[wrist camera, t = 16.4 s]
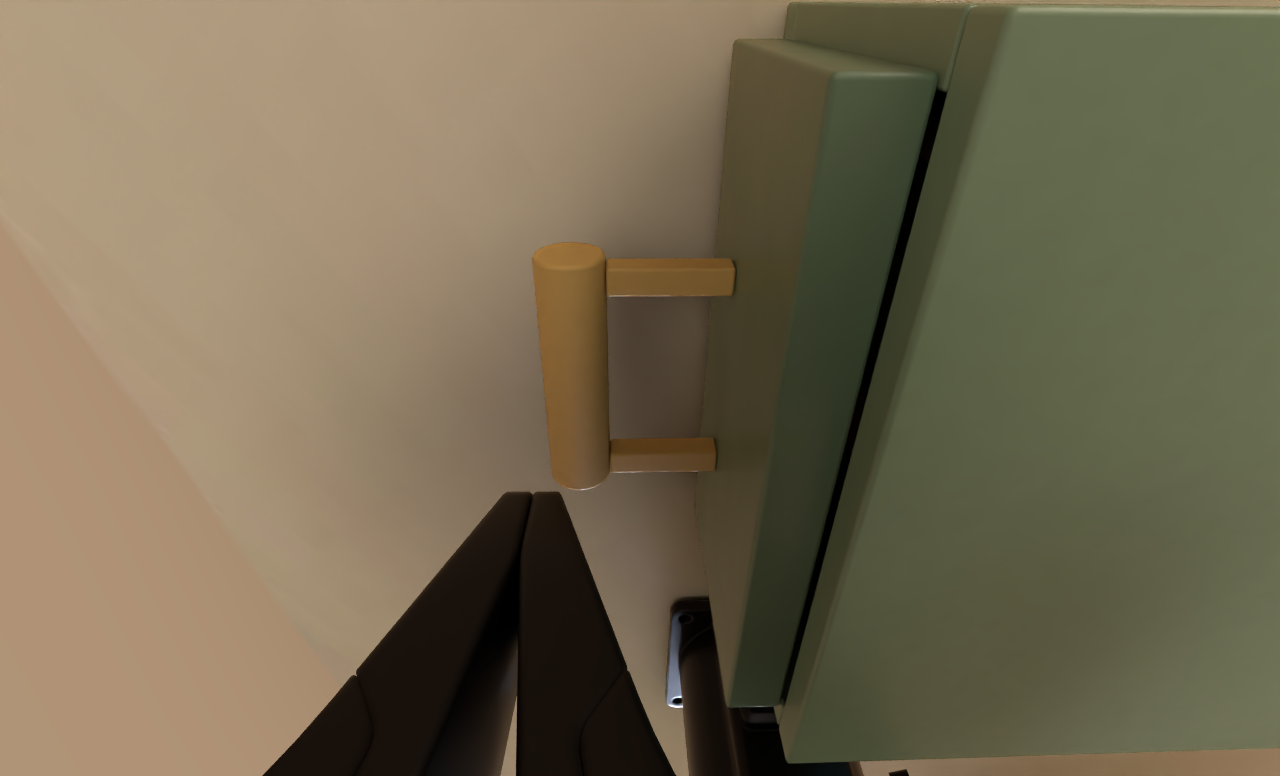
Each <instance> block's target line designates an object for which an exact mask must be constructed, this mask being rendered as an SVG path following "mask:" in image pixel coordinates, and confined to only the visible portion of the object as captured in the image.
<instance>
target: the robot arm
mask: <svg viewBox="0 0 1280 776" xmlns="http://www.w3.org/2000/svg"><path fill="white" fill-rule="evenodd" d="M356 675H357V676H355V675H353V676H351V677H350V678H349V679H348V681H347V682H346V683H345V684H344V686H343V687H342V688H341V689H340V690H339V692H338V693H337V694H336V695H335V697H334V698H333V699H332V700H331V701H330V702H329V703H328V705H327V706H326V707H325V708H324V709H323V710H322V711H321V713H320V714H319V715H318V716H317V717H316V718H315V720H314V721H313V722H312V723H311V724H310V725H309V726H308V727H307V729H306V730H305V731H304V732H303V733H302V734H301V735H300V737H299V738H298V739H297V740H296V741H295V742H294V743H293V744H292V745H291V746H290V747H289V748H288V749H287V750H286V752H285V753H284V754H283V755H282V756H281V757H280V758H279V759H278V760H277V761H276V762H275V763H274V764H273V765H272V766H271V767H270V768H269V769H268V770H267V771H266V772H265V774H264V775H263V776H500V774H501V769H502V765H503V760H504V755H505V750H506V745H507V740H508V735H509V731H510V726H511V721H512V716H513V711H514V706H515V701H516V697H517V746H516V776H676V775H675V773H674V771H673V769H672V767H671V765H670V763H669V761H668V759H667V757H666V755H665V753H664V751H663V749H662V747H661V745H660V743H659V741H658V739H657V737H656V735H655V733H654V731H653V729H652V726H651V724H650V721H649V719H648V717H647V714H646V712H645V710H644V707H643V705H642V703H641V700H640V698H639V695H638V693H637V690H636V688H635V685H634V682H633V680H632V677H631V675H630V672H629V671H627V665H626V662H625V660H624V657H623V655H622V652H621V649H620V647H619V644H618V641H617V639H616V636H615V634H614V631H613V628H612V626H611V623H610V621H609V618H608V615H607V613H606V610H605V608H604V605H603V602H602V600H601V597H600V594H599V592H598V589H597V587H596V584H595V581H594V579H593V576H592V574H591V571H590V568H589V566H588V563H587V560H586V558H585V555H584V553H583V550H582V547H581V545H580V542H579V540H578V537H577V534H576V532H575V529H574V527H573V524H572V521H571V519H570V516H569V513H568V511H567V508H566V506H565V503H564V500H563V498H562V495H561V494H560V493H559V492H535V493H534V495H532V493H530V492H506V493H505V494H503V495H502V497H501V498H500V499H499V500H498V501H497V503H496V504H495V505H494V506H493V507H492V509H491V510H490V511H489V512H488V513H487V515H486V516H485V517H484V518H483V519H482V521H481V522H480V523H479V524H478V525H477V527H476V528H475V529H474V530H473V531H472V533H471V534H470V535H469V536H468V537H467V539H466V540H465V541H464V542H463V543H462V545H461V546H460V547H459V548H458V549H457V550H456V552H455V553H454V554H453V555H452V556H451V558H450V559H449V560H448V561H447V562H446V564H445V565H444V566H443V567H442V568H441V570H440V571H439V572H438V573H437V574H436V576H435V577H434V578H433V579H432V580H431V582H430V583H429V584H428V585H427V586H426V588H425V589H424V590H423V591H422V592H421V594H420V595H419V596H418V597H417V598H416V600H415V601H414V602H413V603H412V604H411V606H410V607H409V608H408V609H407V610H406V612H405V613H404V614H403V615H402V616H401V618H400V619H399V620H398V621H397V622H396V624H395V625H394V626H393V627H392V628H391V630H390V631H389V632H388V633H387V634H386V636H385V637H384V638H383V639H382V640H381V642H380V643H379V644H378V645H377V646H376V648H375V649H374V650H373V651H372V652H371V654H370V655H369V656H368V657H367V658H366V660H365V661H364V662H363V663H362V664H361V666H360V667H359V668H358V669H357V671H356ZM665 693H666V703H667V704H668V705H669V706H672V707H683V716H684V727H685V737H686V748H687V758H688V769H689V776H864V774H863V771H862V768H861V765H860V762H859V761H852V762H820V763H788V762H787V760H786V758H785V754H784V749H783V745H782V740H781V736H780V731H779V727H780V725H778V723H777V719H776V715H775V710H774V706H768V707H733V708H730V707H727V705H726V702H725V696H724V689H723V683H722V677H721V670H720V664H719V657H718V651H717V645H716V638H715V632H714V625H713V619H712V612H711V606H710V601H682V602H678V603H675V604H674V605H673V606H672V607H671V610H670V624H669V641H668V658H667V674H666V691H665ZM889 775H890V776H909V774H908V772H907V769H904V770H900V771H895V772H890V773H889Z"/></svg>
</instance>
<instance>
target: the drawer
mask: <svg viewBox="0 0 1280 776" xmlns="http://www.w3.org/2000/svg"><path fill="white" fill-rule="evenodd" d="M937 83H938V75H937V73H935V72H934V71H932V70H928V69H923V68H919V67H914V66H910V65H905V64H901V63H896V62H891V61H887V60H882V59H878V58H873V57H869V56H864V55H860V54H855V53H851V52H846V51H841V50H837V49H832V48H828V47H823V46H819V45H814V44H810V43H805V42H801V41H796V40H792V39H737V40H735V41H734V44H733V52H732V64H731V76H730V88H729V100H728V112H727V124H726V136H725V148H724V160H723V172H722V184H721V196H720V208H719V220H718V232H717V244H716V256H715V258H687V259H608V260H607V261H606V256H605V254H604V252H603V251H602V250H601V249H600V248H598V247H596V246H593V245H590V244H585V243H577V242H565V243H557V244H552V245H548V246H545V247H542V248H540V249H538V250H537V251H536V252H535V253H534V255H533V258H532V263H533V274H534V285H535V296H536V306H537V317H538V328H539V338H540V349H541V360H542V370H543V381H544V392H545V402H546V413H547V424H548V435H549V445H550V456H551V467H552V475H553V477H554V479H555V480H556V481H557V483H558V484H560V485H561V486H563V487H565V488H567V489H571V490H588V489H592V488H595V487H597V486H599V485H600V484H602V483H603V482H604V481H605V480H606V479H607V477H608V475H609V473H610V470H611V472H613V473H617V472H685V471H698V472H697V484H696V496H695V510H696V516H697V523H698V529H699V536H700V542H701V548H702V555H703V561H704V568H705V574H706V580H707V587H708V593H709V600H710V606H711V612H712V619H713V625H714V632H715V638H716V645H717V651H718V657H719V664H720V670H721V677H722V683H723V689H724V696H725V702H726V705H727V707H730V708H733V707H768V706H778V705H779V703H780V699H781V695H782V692H783V688H784V684H785V680H786V676H787V672H788V668H789V664H790V660H791V656H792V652H793V648H794V644H795V641H796V637H797V633H798V629H799V625H800V621H801V617H802V613H803V609H804V605H805V601H806V597H807V593H808V589H809V586H810V582H811V584H812V587H813V590H814V593H815V590H816V587H817V583H818V579H819V575H820V572H821V568H822V564H823V560H824V557H825V553H826V549H827V545H828V541H829V538H830V534H831V530H832V526H833V523H834V519H835V515H836V511H837V507H838V505H837V503H836V501H835V498H834V496H833V491H834V487H835V483H836V479H837V476H838V472H839V468H840V464H841V460H842V456H843V452H844V448H845V444H846V440H847V436H848V432H849V428H850V425H851V421H852V417H853V413H854V409H855V405H856V401H857V397H858V393H859V389H860V385H861V381H862V377H863V373H864V370H865V366H866V362H867V358H868V354H869V350H870V346H871V342H872V338H873V334H874V330H875V326H876V322H877V318H878V315H879V311H880V307H881V303H882V299H883V295H884V291H885V287H886V283H887V279H888V275H889V271H890V267H891V263H892V260H893V256H894V252H895V248H896V244H897V240H898V236H899V232H900V228H901V224H902V220H903V216H904V212H905V208H906V205H907V201H908V197H909V193H910V189H911V185H912V181H913V177H914V173H915V169H916V165H917V161H918V159H919V160H921V161H923V162H925V163H927V164H929V160H930V156H931V153H932V149H933V145H934V141H935V138H936V134H937V130H938V126H939V122H940V119H941V115H942V111H943V107H944V104H945V100H946V96H947V93H945V92H941V91H938V90H936V87H937ZM607 296H610V297H622V296H712V304H711V316H710V328H709V340H708V352H707V364H706V376H705V388H704V400H703V412H702V424H701V436H700V438H642V439H611V441H610V427H609V382H608V337H607Z"/></svg>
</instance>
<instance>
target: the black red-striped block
mask: <svg viewBox="0 0 1280 776" xmlns="http://www.w3.org/2000/svg"><path fill="white" fill-rule="evenodd" d="M927 168H928V164H927V163H925V162H923V161H921V160H919V159H918V161H917V165H916V169H915V173H914V177H913V181H912V185H911V189H910V193H909V197H908V201H907V205H906V208H905V212H904V216H903V220H902V224H901V228H900V232H899V236H898V240H897V244H896V248H895V252H894V256H893V260H892V263H891V267H890V271H889V275H888V279H887V283H886V287H885V291H884V295H883V299H882V303H881V307H880V311H879V315H878V318H877V322H876V326H875V330H874V334H873V338H872V342H871V346H870V350H869V354H868V358H867V362H866V366H865V370H864V373H863V377H862V381H861V385H860V389H859V393H858V397H857V401H856V405H855V409H854V413H853V417H852V421H851V425H850V428H849V432H848V436H847V440H846V444H845V448H844V452H843V456H842V460H841V464H840V468H839V472H838V476H837V479H836V483H835V487H834V491H833V496H834V498H835V501H836V503H837V505H838V504H839V500H840V496H841V492H842V489H843V485H844V481H845V477H846V473H847V470H848V466H849V462H850V458H851V455H852V451H853V447H854V443H855V440H856V436H857V432H858V428H859V424H860V421H861V417H862V413H863V409H864V406H865V402H866V398H867V394H868V390H869V387H870V383H871V379H872V375H873V372H874V368H875V364H876V360H877V356H878V353H879V349H880V345H881V341H882V338H883V334H884V330H885V326H886V323H887V319H888V315H889V311H890V307H891V304H892V300H893V296H894V292H895V289H896V285H897V281H898V277H899V273H900V270H901V266H902V262H903V258H904V255H905V251H906V247H907V243H908V239H909V236H910V232H911V228H912V224H913V221H914V217H915V213H916V209H917V205H918V202H919V198H920V194H921V190H922V187H923V183H924V179H925V175H926V172H927Z"/></svg>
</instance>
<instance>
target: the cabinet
mask: <svg viewBox="0 0 1280 776" xmlns="http://www.w3.org/2000/svg"><path fill="white" fill-rule="evenodd" d="M784 39H792V40H796V41H801V42H805V43H810V44H814V45H819V46H823V47H828V48H832V49H837V50H841V51H846V52H851V53H855V54H860V55H864V56H869V57H873V58H878V59H882V60H887V61H891V62H896V63H901V64H905V65H910V66H914V67H919V68H923V69H928V70H932V71H934V72H935V73H937V75H938V83H937V87H936V90H938V91H941V92H945V93H947V96H946V100H945V104H944V107H943V111H942V115H941V119H940V122H939V126H938V130H937V134H936V138H935V141H934V145H933V149H932V153H931V156H930V160H929V164H928V168H927V172H926V175H925V179H924V183H923V187H922V190H921V194H920V198H919V202H918V205H917V209H916V213H915V217H914V221H913V224H912V228H911V232H910V236H909V239H908V243H907V247H906V251H905V255H904V258H903V262H902V266H901V270H900V273H899V277H898V281H897V285H896V289H895V292H894V296H893V300H892V304H891V307H890V311H889V315H888V319H887V323H886V326H885V330H884V334H883V338H882V341H881V345H880V349H879V353H878V356H877V360H876V364H875V368H874V372H873V375H872V379H871V383H870V387H869V390H868V394H867V398H866V402H865V406H864V409H863V413H862V417H861V421H860V424H859V428H858V432H857V436H856V440H855V443H854V447H853V451H852V455H851V458H850V462H849V466H848V470H847V473H846V477H845V481H844V485H843V489H842V492H841V496H840V500H839V504H838V507H837V511H836V515H835V519H834V523H833V526H832V530H831V534H830V538H829V541H828V545H827V549H826V553H825V557H824V560H823V564H822V568H821V572H820V575H819V579H818V583H817V587H816V590H815V593H814V590H813V587H812V584H811V582H810V586H809V589H808V593H807V597H806V601H805V605H804V609H803V613H802V617H801V621H800V625H799V629H798V633H797V637H796V641H795V644H794V648H793V652H792V656H791V660H790V664H789V668H788V672H787V676H786V680H785V684H784V688H783V692H782V695H781V699H780V703H779V705H778V706H774V710H775V715H776V719H777V723H778V725H780V727H779V731H780V736H781V740H782V745H783V749H784V754H785V758H786V760H787V762H788V763H820V762H852V761H884V760H915V759H947V758H978V757H1010V756H1041V755H1073V754H1105V753H1136V752H1168V751H1199V750H1231V749H1263V748H1280V7H1230V6H1149V5H1068V4H969V3H834V2H792V3H790V4H789V6H788V10H787V18H786V26H785V34H784Z"/></svg>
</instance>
